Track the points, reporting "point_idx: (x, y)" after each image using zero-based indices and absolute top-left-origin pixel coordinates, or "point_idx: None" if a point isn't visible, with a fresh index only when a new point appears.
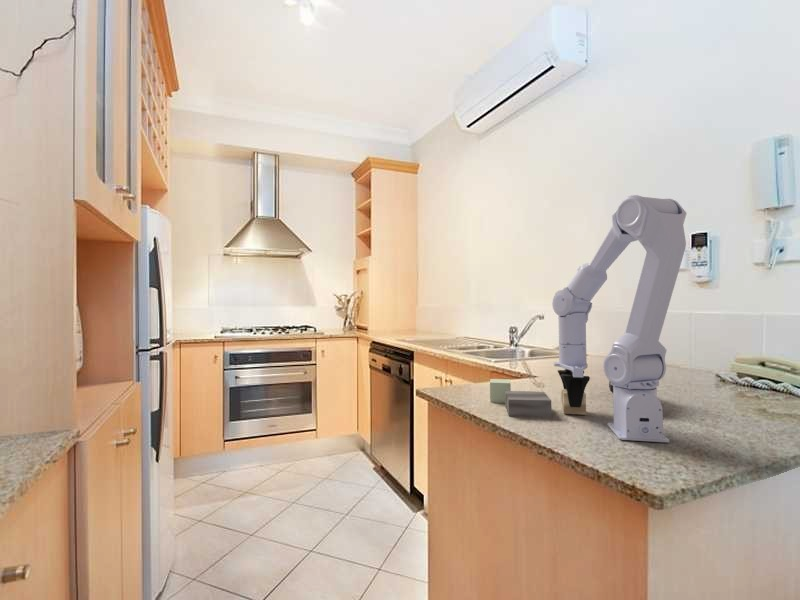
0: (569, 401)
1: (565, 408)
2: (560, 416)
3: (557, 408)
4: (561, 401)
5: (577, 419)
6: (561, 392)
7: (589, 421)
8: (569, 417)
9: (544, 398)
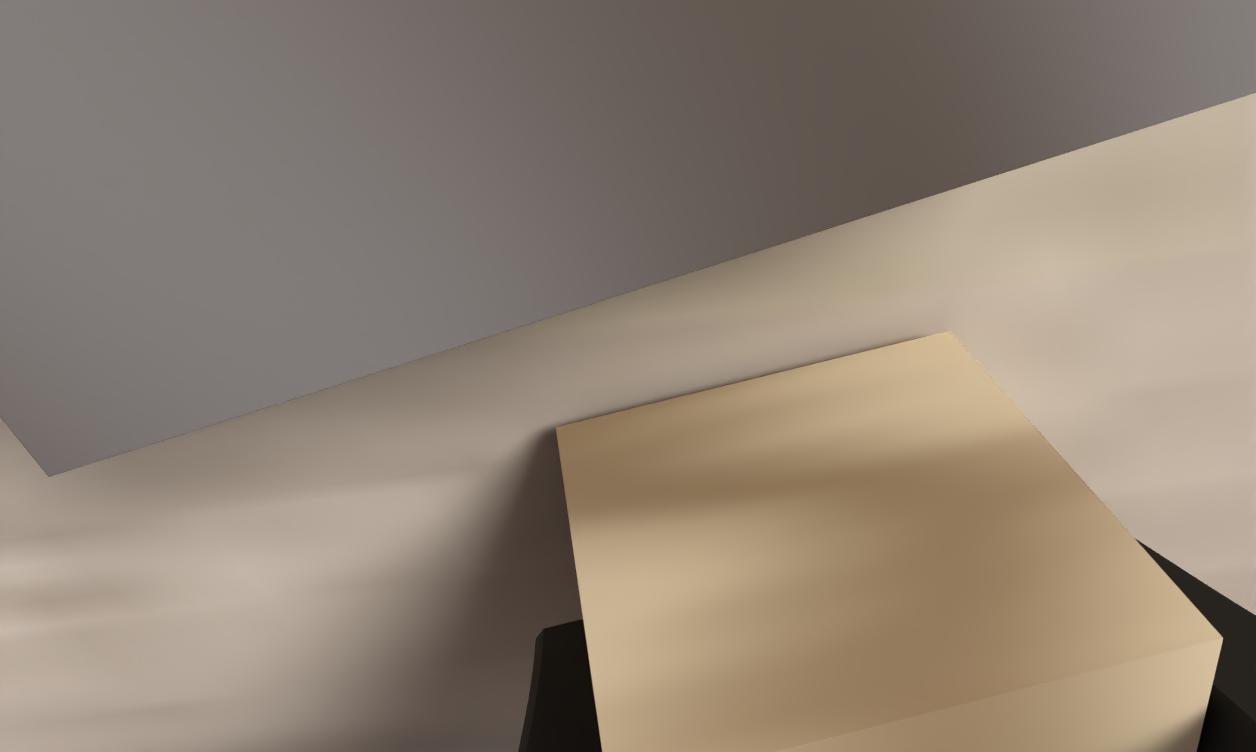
0: (529, 718)
1: (574, 511)
2: (397, 372)
3: (1029, 238)
4: (1003, 421)
5: (344, 613)
6: (1108, 583)
7: (323, 739)
8: (409, 505)
9: (240, 228)
